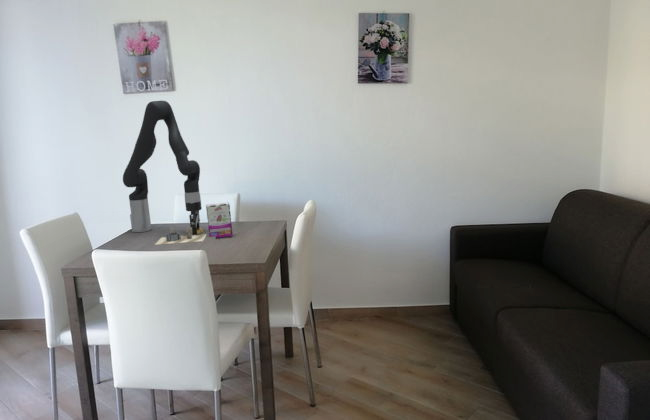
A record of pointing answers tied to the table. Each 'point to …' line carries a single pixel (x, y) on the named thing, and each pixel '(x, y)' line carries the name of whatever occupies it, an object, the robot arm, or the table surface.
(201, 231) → the brass gear
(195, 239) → the gear board
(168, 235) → the silver gear
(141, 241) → the table surface
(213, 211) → the candy bar box
